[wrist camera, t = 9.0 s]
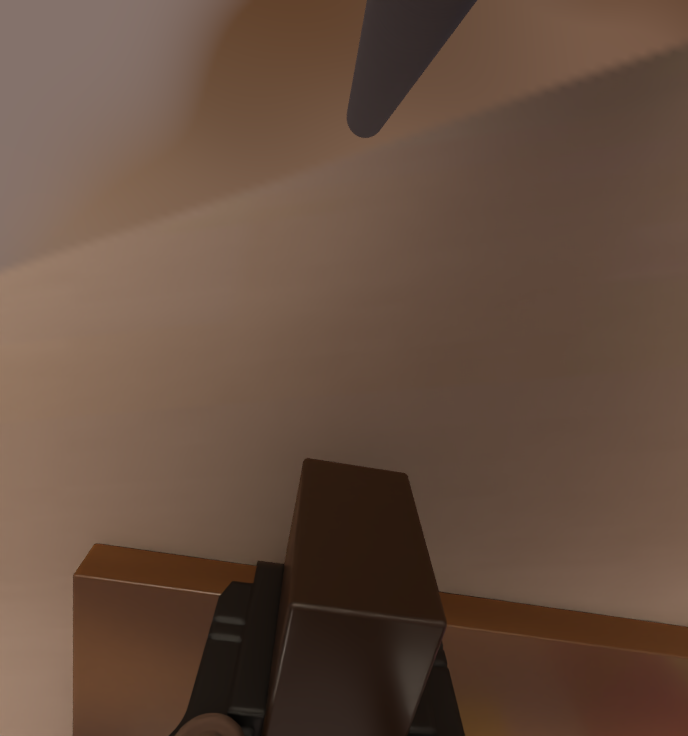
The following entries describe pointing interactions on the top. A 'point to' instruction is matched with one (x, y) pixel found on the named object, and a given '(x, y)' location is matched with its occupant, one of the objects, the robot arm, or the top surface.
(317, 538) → the knife
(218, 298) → the top surface
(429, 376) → the top surface
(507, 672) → the board
